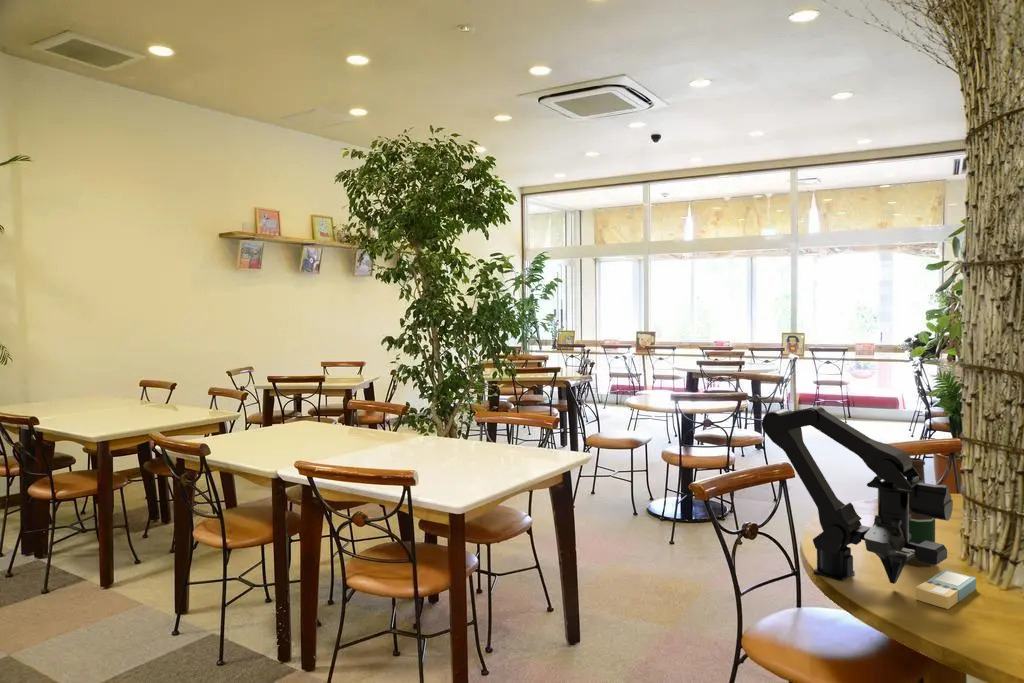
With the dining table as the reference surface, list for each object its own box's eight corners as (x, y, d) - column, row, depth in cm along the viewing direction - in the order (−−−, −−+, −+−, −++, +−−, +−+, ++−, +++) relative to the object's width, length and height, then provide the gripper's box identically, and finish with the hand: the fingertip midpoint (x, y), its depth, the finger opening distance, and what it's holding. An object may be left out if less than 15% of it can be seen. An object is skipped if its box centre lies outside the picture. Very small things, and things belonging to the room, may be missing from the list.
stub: (915, 599, 140) (915, 587, 140) (925, 592, 143) (925, 580, 143) (948, 609, 136) (948, 596, 135) (957, 602, 138) (957, 589, 138)
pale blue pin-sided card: (926, 592, 144) (926, 580, 143) (944, 580, 149) (944, 569, 149) (959, 601, 139) (959, 589, 139) (975, 589, 144) (976, 577, 144)
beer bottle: (912, 553, 165) (912, 453, 164) (943, 564, 158) (943, 460, 156) (888, 558, 162) (888, 457, 161) (918, 570, 155) (918, 464, 153)
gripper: (830, 508, 147) (830, 580, 148) (925, 530, 133) (924, 609, 134) (855, 498, 154) (855, 566, 155) (948, 517, 139) (948, 592, 140)
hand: (893, 583), depth 146 cm, fingers closed
